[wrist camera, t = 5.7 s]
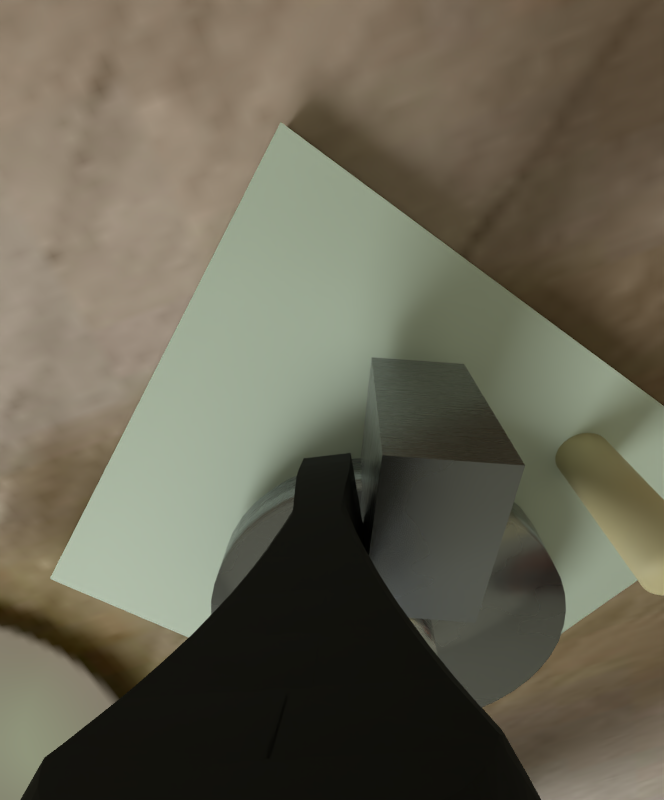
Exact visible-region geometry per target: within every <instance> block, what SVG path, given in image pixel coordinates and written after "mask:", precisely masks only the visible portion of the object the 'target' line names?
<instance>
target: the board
mask: <svg viewBox="0 0 664 800" xmlns="http://www.w3.org/2000/svg"><path fill="white" fill-rule="evenodd" d="M372 357H373V358H388V359H402V360H416V361H430V362H444V363H458V364H464V365H465V366H466V368H467V370H468V371H469V373H470V375H471V376H472V378H473V380H474V381H475V383H476V385H477V386H478V388H479V390H480V391H481V393H482V395H483V396H484V398H485V399H486V401H487V403H488V404H489V406H490V408H491V409H492V411H493V413H494V414H495V416H496V418H497V419H498V421H499V423H500V424H501V426H502V428H503V429H504V431H505V433H506V434H507V436H508V438H509V439H510V441H511V443H512V444H513V446H514V448H515V449H516V451H517V453H518V454H519V456H520V458H521V459H522V461H523V463H524V464H525V468H524V471H523V474H522V477H521V481H520V484H519V487H518V490H517V493H516V496H515V500H514V502H515V503H516V504H517V505H518V506H519V507H520V508H521V509H522V510H523V511H524V513H525V514H526V515H527V517H528V518H529V519H530V521H531V522H532V523H533V525H534V527H535V529H536V531H537V533H538V534H539V536H540V538H541V540H542V542H543V544H544V546H545V548H546V550H547V552H548V554H549V556H550V557H551V559H552V561H553V563H554V565H555V567H556V569H557V571H558V573H559V575H560V577H561V581H562V584H563V588H564V592H565V601H566V614H565V621H564V627H563V630H562V632H561V633H563V632H564V631H566V630H567V629H568V628H570V627H571V626H573V625H574V624H576V623H577V622H578V621H580V620H581V619H583V618H584V617H586V616H587V615H588V614H590V613H591V612H593V611H594V610H596V609H597V608H598V607H600V606H601V605H603V604H604V603H606V602H607V601H609V600H610V599H611V598H613V597H614V596H616V595H617V594H619V593H620V592H621V591H623V590H624V589H626V588H627V587H629V586H630V585H631V584H633V583H634V582H636V581H637V580H638V581H639V583H640V584H641V585H642V587H643V588H644V589H645V590H647V591H648V592H650V593H653V594H656V595H662V596H664V406H663V405H662V404H660V403H659V402H658V401H656V400H655V399H654V398H652V397H651V396H650V395H648V394H647V393H645V392H644V391H643V390H641V389H640V388H639V387H637V386H636V385H635V384H633V383H632V382H631V381H629V380H628V379H627V378H625V377H624V376H623V375H621V374H620V373H618V372H617V371H616V370H614V369H613V368H612V367H610V366H609V365H608V364H606V363H605V362H604V361H602V360H601V359H600V358H598V357H597V356H596V355H594V354H593V353H591V352H590V351H589V350H587V349H586V348H585V347H583V346H582V345H581V344H579V343H578V342H577V341H575V340H574V339H573V338H571V337H570V336H569V335H567V334H566V333H565V332H563V331H562V330H560V329H559V328H558V327H556V326H555V325H554V324H552V323H551V322H550V321H548V320H547V319H546V318H544V317H543V316H542V315H540V314H539V313H538V312H536V311H535V310H533V309H532V308H531V307H529V306H528V305H527V304H525V303H524V302H523V301H521V300H520V299H519V298H517V297H516V296H515V295H513V294H512V293H511V292H509V291H508V290H506V289H505V288H504V287H502V286H501V285H500V284H498V283H497V282H496V281H494V280H493V279H492V278H490V277H489V276H488V275H486V274H485V273H484V272H482V271H481V270H480V269H478V268H477V267H475V266H474V265H473V264H471V263H470V262H469V261H467V260H466V259H465V258H463V257H462V256H461V255H459V254H458V253H457V252H455V251H454V250H453V249H451V248H450V247H448V246H447V245H446V244H444V243H443V242H442V241H440V240H439V239H438V238H436V237H435V236H434V235H432V234H431V233H430V232H428V231H427V230H426V229H424V228H423V227H422V226H420V225H419V224H417V223H416V222H415V221H413V220H412V219H411V218H409V217H408V216H407V215H405V214H404V213H403V212H401V211H400V210H399V209H397V208H396V207H395V206H393V205H392V204H390V203H389V202H388V201H386V200H385V199H384V198H382V197H381V196H380V195H378V194H377V193H376V192H374V191H373V190H372V189H370V188H369V187H368V186H366V185H365V184H363V183H362V182H361V181H359V180H358V179H357V178H355V177H354V176H353V175H351V174H350V173H349V172H347V171H346V170H345V169H343V168H342V167H341V166H339V165H338V164H337V163H335V162H334V161H332V160H331V159H330V158H328V157H327V156H326V155H324V154H323V153H322V152H320V151H319V150H318V149H316V148H315V147H314V146H312V145H311V144H310V143H308V142H307V141H305V140H304V139H303V138H301V137H300V136H299V135H297V134H296V133H295V132H293V131H292V130H291V129H289V128H288V127H287V126H285V125H284V124H283V123H280V125H279V127H278V129H277V131H276V133H275V135H274V136H273V138H272V140H271V142H270V144H269V146H268V148H267V150H266V152H265V154H264V156H263V158H262V160H261V162H260V164H259V166H258V168H257V170H256V172H255V174H254V176H253V178H252V180H251V182H250V184H249V186H248V188H247V190H246V192H245V194H244V196H243V198H242V200H241V202H240V204H239V206H238V208H237V210H236V212H235V214H234V216H233V218H232V220H231V222H230V224H229V226H228V228H227V229H226V231H225V233H224V235H223V237H222V239H221V241H220V243H219V245H218V247H217V249H216V251H215V253H214V255H213V257H212V259H211V261H210V263H209V265H208V267H207V269H206V271H205V273H204V275H203V277H202V279H201V281H200V283H199V285H198V287H197V289H196V291H195V293H194V295H193V297H192V299H191V301H190V303H189V305H188V307H187V309H186V311H185V313H184V315H183V317H182V319H181V321H180V323H179V324H178V326H177V328H176V330H175V332H174V334H173V336H172V338H171V340H170V342H169V344H168V346H167V348H166V350H165V352H164V354H163V356H162V358H161V360H160V362H159V364H158V366H157V368H156V370H155V372H154V374H153V376H152V378H151V380H150V382H149V384H148V386H147V388H146V390H145V392H144V394H143V396H142V398H141V400H140V402H139V404H138V406H137V408H136V410H135V412H134V414H133V416H132V417H131V419H130V421H129V423H128V425H127V427H126V429H125V431H124V433H123V435H122V437H121V439H120V441H119V443H118V445H117V447H116V449H115V451H114V453H113V455H112V457H111V459H110V461H109V463H108V465H107V467H106V469H105V471H104V473H103V475H102V477H101V479H100V481H99V483H98V485H97V487H96V489H95V491H94V493H93V495H92V497H91V499H90V501H89V503H88V505H87V507H86V509H85V510H84V512H83V514H82V516H81V518H80V520H79V522H78V524H77V526H76V528H75V530H74V532H73V534H72V536H71V538H70V540H69V542H68V544H67V546H66V548H65V550H64V552H63V554H62V556H61V558H60V560H59V562H58V564H57V566H56V568H55V570H54V572H53V574H52V576H51V578H50V579H52V580H54V581H56V582H59V583H61V584H63V585H66V586H68V587H71V588H73V589H75V590H78V591H80V592H82V593H85V594H87V595H89V596H92V597H94V598H97V599H99V600H101V601H104V602H106V603H108V604H111V605H113V606H115V607H118V608H120V609H123V610H125V611H127V612H130V613H132V614H134V615H137V616H139V617H141V618H144V619H146V620H149V621H151V622H153V623H156V624H158V625H160V626H163V627H165V628H167V629H170V630H172V631H175V632H177V633H179V634H182V635H184V636H186V637H190V636H191V635H192V634H193V633H194V632H195V631H196V630H197V629H198V628H199V627H200V626H201V625H202V624H203V623H204V622H205V621H206V620H207V619H208V617H209V616H210V615H211V598H212V593H213V588H214V584H215V581H216V578H217V575H218V572H219V569H220V566H221V563H222V560H223V557H224V554H225V551H226V548H227V545H228V543H229V540H230V538H231V535H232V533H233V531H234V529H235V528H236V526H237V525H238V523H239V521H240V520H241V518H242V517H243V516H244V515H245V514H246V512H247V511H248V510H249V509H250V508H251V507H252V506H253V504H254V503H256V502H257V501H258V500H259V499H260V498H262V497H263V496H264V495H265V494H266V493H268V492H269V491H270V490H272V489H273V488H275V487H277V486H278V485H280V484H281V483H283V482H284V481H286V480H288V479H290V478H292V477H294V476H297V473H298V470H299V468H300V465H301V463H302V461H303V459H304V458H311V457H319V456H328V455H336V454H345V453H351V457H352V459H354V458H361V450H362V441H363V432H364V423H365V413H366V404H367V395H368V386H369V377H370V367H371V358H372Z"/></svg>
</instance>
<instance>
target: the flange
mask: <svg viewBox="0 0 664 800" xmlns="http://www.w3.org/2000/svg"><path fill="white" fill-rule="evenodd" d="M352 463H353V469H354V475H355V481H356V487H357V492H358V498H359V504H360V510H361V516H362V522H363V542H364V548H365V550H366V552H367V554H368V555H369V557H370V559H371V561H372V563H373V564H374V566H375V568H376V569H377V571H378V573H379V574H380V576H381V578H382V579H383V581H384V582H385V584H386V586H387V587H388V589H389V590H390V592H391V593H392V595H393V596H394V598H395V599H396V601H397V602H398V604H399V605H400V607H401V608H402V609H403V611H404V612H405V613H406V615H407V616H408V617H409V619H410V620H411V622H412V623H413V624H414V626H415V627H416V628H417V630H418V631H419V632H420V634H421V635H422V637H423V638H424V639H425V641H426V642H427V643H428V645H429V646H430V647H431V648H432V650H433V651H434V652H435V653H436V655H437V656H438V657H439V658H440V660H441V661H442V662H443V663H444V664H445V666H446V667H447V668H448V669H449V671H450V672H451V673H452V674H453V676H454V677H455V678H456V679H457V680H458V681H459V682H460V684H461V685H462V686H463V687H464V688H465V689H466V691H467V692H468V693H469V694H470V695H471V696H472V697H473V699H474V700H475V701H476V702H477V703H478V704H479V705H480V706H481V708H482V707H484V706H486V705H488V704H490V703H493V702H495V701H497V700H499V699H500V698H502V697H504V696H506V695H507V694H509V693H511V692H512V691H514V690H515V689H517V688H518V687H519V686H521V685H522V684H523V683H525V682H526V681H527V680H528V679H530V678H531V677H532V676H533V675H534V674H535V673H536V672H537V671H538V670H539V669H540V668H541V667H542V665H543V664H544V663H545V662H546V660H547V659H548V658H549V657H550V655H551V653H552V652H553V650H554V648H555V646H556V645H557V643H558V641H559V638H560V635H561V632H562V630H563V627H564V621H565V614H566V601H565V592H564V588H563V584H562V581H561V577H560V575H559V573H558V571H557V569H556V567H555V565H554V563H553V561H552V559H551V557H550V556H549V554H548V552H547V550H546V548H545V546H544V544H543V542H542V540H541V538H540V536H539V534H538V533H537V531H536V529H535V527H534V525H533V523H532V522H531V521H530V519H529V518H528V517H527V515H526V514H525V513H524V511H523V510H522V509H521V508H520V507H519V506H518V505H517V504H516V503H515V502H514V500H515V496H516V493H517V490H518V487H519V484H520V481H521V477H522V474H523V471H524V468H525V464H524V463H523V461H522V459H521V458H520V456H519V454H518V453H517V451H516V449H515V448H514V446H513V444H512V443H511V441H510V439H509V438H508V436H507V434H506V433H505V431H504V429H503V428H502V426H501V424H500V423H499V421H498V419H497V418H496V416H495V414H494V413H493V411H492V409H491V408H490V406H489V404H488V403H487V401H486V399H485V398H484V396H483V395H482V393H481V391H480V390H479V388H478V386H477V385H476V383H475V381H474V380H473V378H472V376H471V375H470V373H469V371H468V370H467V368H466V366H465V365H464V364H458V363H444V362H430V361H416V360H402V359H388V358H373V357H372V358H371V367H370V377H369V386H368V395H367V404H366V413H365V423H364V432H363V441H362V450H361V458H354V459H352ZM295 485H296V476H294V477H292V478H290V479H288V480H286V481H284V482H283V483H281V484H280V485H278V486H277V487H275V488H273V489H272V490H270V491H269V492H268V493H266V494H265V495H264V496H263V497H262V498H260V499H259V500H258V501H257V502H256V503H254V504H253V506H252V507H251V508H250V509H249V510H248V511H247V512H246V514H245V515H244V516H243V517H242V518H241V520H240V521H239V523H238V525H237V526H236V528H235V529H234V531H233V533H232V535H231V538H230V540H229V543H228V545H227V548H226V551H225V554H224V557H223V560H222V563H221V566H220V569H219V572H218V575H217V578H216V581H215V584H214V588H213V593H212V598H211V614H212V613H213V612H214V611H215V610H216V609H217V608H218V607H219V606H220V605H221V604H222V602H223V601H224V600H225V599H226V598H227V597H228V596H229V595H230V594H231V593H232V592H233V590H234V589H235V588H236V587H237V586H238V584H239V583H240V582H241V581H242V580H243V579H244V577H245V576H246V575H247V574H248V573H249V571H250V570H251V569H252V568H253V566H254V565H255V564H256V562H257V561H258V560H259V558H260V557H261V556H262V555H263V553H264V552H265V551H266V549H267V548H268V546H269V545H270V543H271V542H272V541H273V539H274V538H275V536H276V535H277V533H278V532H279V530H280V529H281V528H282V526H283V525H284V523H285V522H286V520H287V519H288V517H289V515H290V514H291V512H292V510H293V504H294V494H295Z"/></svg>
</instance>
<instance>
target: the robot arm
mask: <svg viewBox="0 0 664 800" xmlns="http://www.w3.org/2000/svg"><path fill="white" fill-rule="evenodd" d="M21 800H541V799H540V797H539V795H538V793H537V791H536V789H535V788H534V786H533V784H532V782H531V780H530V778H529V777H528V775H527V773H526V771H525V769H524V768H523V766H522V764H521V763H520V761H519V759H518V757H517V756H516V754H515V752H514V750H513V749H512V747H511V745H510V743H509V742H508V740H507V738H506V736H505V734H504V733H503V731H502V730H501V729H500V727H499V726H498V725H497V724H496V723H495V722H494V721H493V720H492V719H491V717H490V716H489V715H488V714H487V713H486V712H485V711H484V710H483V709H482V708H481V706H480V705H479V704H478V703H477V702H476V701H475V700H474V699H473V697H472V696H471V695H470V694H469V693H468V692H467V691H466V689H465V688H464V687H463V686H462V685H461V684H460V682H459V681H458V680H457V679H456V678H455V677H454V676H453V674H452V673H451V672H450V671H449V669H448V668H447V667H446V666H445V664H444V663H443V662H442V661H441V660H440V658H439V657H438V656H437V655H436V653H435V652H434V651H433V650H432V648H431V647H430V646H429V645H428V643H427V642H426V641H425V639H424V638H423V637H422V635H421V634H420V632H419V631H418V630H417V628H416V627H415V626H414V624H413V623H412V622H411V620H410V619H409V617H408V616H407V615H406V613H405V612H404V611H403V609H402V608H401V607H400V605H399V604H398V602H397V601H396V599H395V598H394V596H393V595H392V593H391V592H390V590H389V589H388V587H387V586H386V584H385V582H384V581H383V579H382V578H381V576H380V574H379V573H378V571H377V569H376V568H375V566H374V564H373V563H372V561H371V559H370V557H369V555H368V554H367V552H366V550H365V548H364V542H363V522H362V516H361V510H360V504H359V498H358V492H357V487H356V481H355V475H354V469H353V463H352V457H351V453H345V454H336V455H328V456H319V457H311V458H304V459H303V461H302V463H301V465H300V468H299V470H298V473H297V476H296V485H295V494H294V504H293V510H292V512H291V514H290V515H289V517H288V519H287V520H286V522H285V523H284V525H283V526H282V528H281V529H280V530H279V532H278V533H277V535H276V536H275V538H274V539H273V541H272V542H271V543H270V545H269V546H268V548H267V549H266V551H265V552H264V553H263V555H262V556H261V557H260V558H259V560H258V561H257V562H256V564H255V565H254V566H253V568H252V569H251V570H250V571H249V573H248V574H247V575H246V576H245V577H244V579H243V580H242V581H241V582H240V583H239V584H238V586H237V587H236V588H235V589H234V590H233V592H232V593H231V594H230V595H229V596H228V597H227V598H226V599H225V600H224V601H223V602H222V604H221V605H220V606H219V607H218V608H217V609H216V610H215V611H214V612H213V613H212V614H211V615H210V616H209V617H208V619H207V620H206V621H205V622H204V623H203V624H202V625H201V626H200V627H199V628H198V629H197V630H196V631H195V632H194V633H193V634H192V635H191V636H190V637H189V638H188V639H187V640H186V641H185V642H184V643H183V644H182V645H180V646H179V647H178V648H177V649H176V650H175V651H174V652H173V653H172V654H171V655H170V656H169V657H167V658H166V659H165V660H164V661H163V662H162V663H161V664H160V665H159V666H157V667H156V668H155V669H154V670H153V671H152V672H151V673H149V674H148V675H147V676H146V677H145V678H144V679H143V680H142V681H140V682H139V683H138V684H137V685H136V686H135V687H133V688H132V689H131V690H130V691H129V692H127V693H126V694H125V695H124V696H123V697H121V698H120V699H119V700H118V701H117V702H115V703H114V704H113V705H111V706H110V707H109V708H108V709H106V710H105V711H104V712H103V713H102V714H100V715H99V716H98V717H96V718H95V719H94V720H92V721H91V722H90V723H89V724H88V725H86V726H85V727H84V728H82V729H81V730H80V731H79V732H77V733H76V734H75V735H74V736H72V737H71V738H70V739H68V740H67V741H66V742H65V743H63V744H62V745H61V746H59V747H58V748H57V749H56V750H54V751H53V752H51V753H50V754H49V755H47V756H46V757H45V758H44V760H43V761H42V763H41V765H40V766H39V768H38V770H37V772H36V773H35V775H34V777H33V779H32V780H31V782H30V784H29V786H28V788H27V789H26V791H25V793H24V794H23V797H22V798H21Z"/></svg>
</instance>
